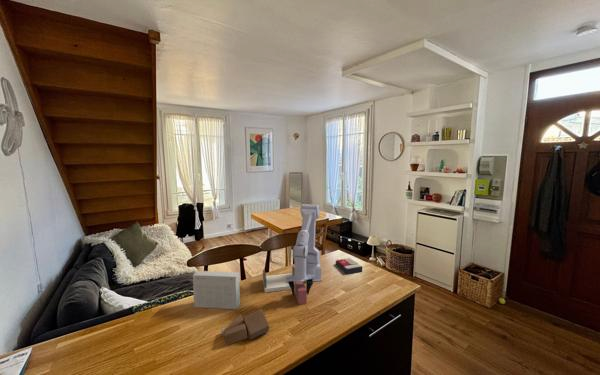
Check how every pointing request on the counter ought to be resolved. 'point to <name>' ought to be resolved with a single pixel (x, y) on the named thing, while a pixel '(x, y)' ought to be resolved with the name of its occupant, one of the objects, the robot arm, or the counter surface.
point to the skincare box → (216, 289)
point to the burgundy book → (300, 292)
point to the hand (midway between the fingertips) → (300, 294)
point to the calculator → (349, 266)
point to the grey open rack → (277, 281)
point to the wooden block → (246, 327)
